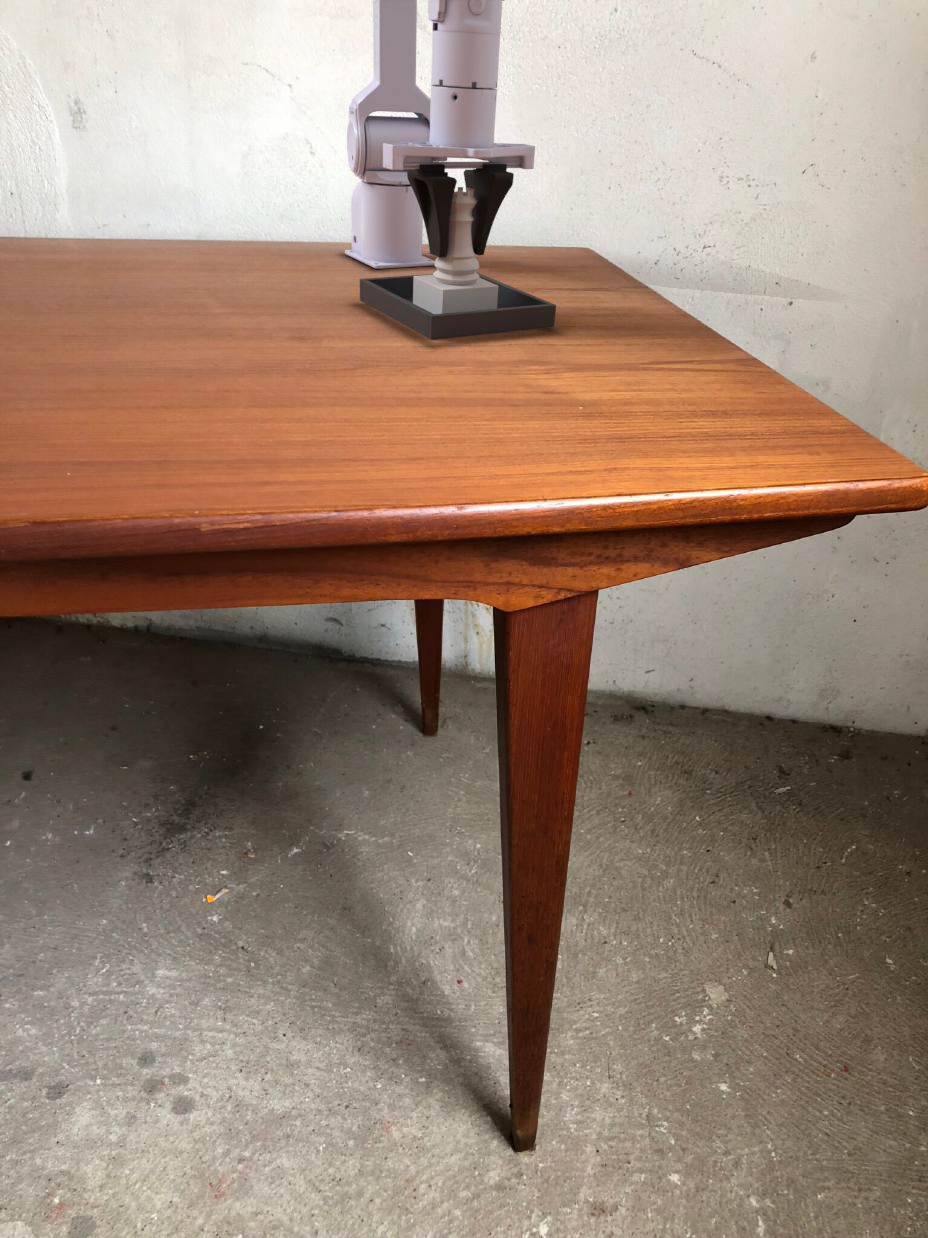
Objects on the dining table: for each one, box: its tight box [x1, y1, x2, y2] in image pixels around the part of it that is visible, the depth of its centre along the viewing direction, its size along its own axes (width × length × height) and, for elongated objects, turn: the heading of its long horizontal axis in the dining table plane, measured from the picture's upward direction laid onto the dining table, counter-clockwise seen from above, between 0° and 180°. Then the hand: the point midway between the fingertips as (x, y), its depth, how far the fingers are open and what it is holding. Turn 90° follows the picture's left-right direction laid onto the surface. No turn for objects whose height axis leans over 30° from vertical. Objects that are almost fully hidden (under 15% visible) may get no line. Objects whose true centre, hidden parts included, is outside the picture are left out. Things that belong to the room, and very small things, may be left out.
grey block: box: [413, 274, 498, 314], centre depth 87 cm, size 6×6×3 cm
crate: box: [359, 271, 557, 341], centre depth 88 cm, size 15×13×3 cm
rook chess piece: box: [432, 186, 480, 285], centre depth 85 cm, size 4×4×8 cm
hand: (456, 254), depth 85 cm, fingers closed on rook chess piece, 3 cm apart
